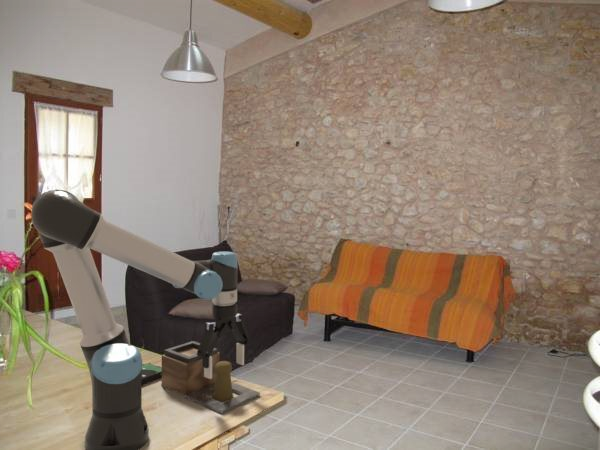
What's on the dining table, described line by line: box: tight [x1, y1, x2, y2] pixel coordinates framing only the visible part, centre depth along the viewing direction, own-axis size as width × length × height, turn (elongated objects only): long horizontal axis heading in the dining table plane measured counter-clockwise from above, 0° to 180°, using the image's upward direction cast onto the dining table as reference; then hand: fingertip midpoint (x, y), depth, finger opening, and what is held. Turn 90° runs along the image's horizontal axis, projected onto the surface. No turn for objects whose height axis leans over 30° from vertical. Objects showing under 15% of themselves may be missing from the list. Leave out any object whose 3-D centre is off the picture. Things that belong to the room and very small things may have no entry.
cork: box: [212, 360, 234, 402], centre depth 150 cm, size 6×6×11 cm
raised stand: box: [161, 340, 221, 397], centre depth 159 cm, size 14×12×12 cm
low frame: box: [185, 381, 261, 415], centre depth 151 cm, size 16×16×1 cm
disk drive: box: [142, 362, 162, 386], centre depth 163 cm, size 10×3×15 cm
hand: (224, 370), depth 150 cm, fingers open, 13 cm apart
